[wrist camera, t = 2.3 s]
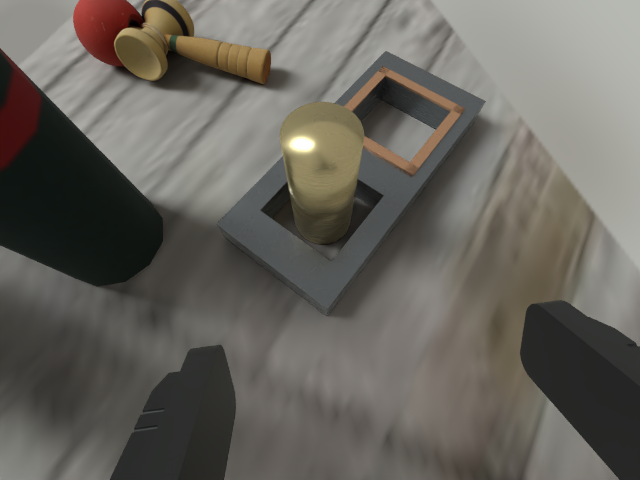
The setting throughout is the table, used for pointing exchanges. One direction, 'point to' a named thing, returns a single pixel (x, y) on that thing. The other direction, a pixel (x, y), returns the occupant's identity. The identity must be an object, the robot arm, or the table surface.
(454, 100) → the grey flat frame
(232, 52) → the kendama
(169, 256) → the table surface
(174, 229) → the table surface
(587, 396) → the robot arm
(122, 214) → the wine bottle
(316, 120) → the brass peg
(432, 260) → the table surface
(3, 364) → the table surface
